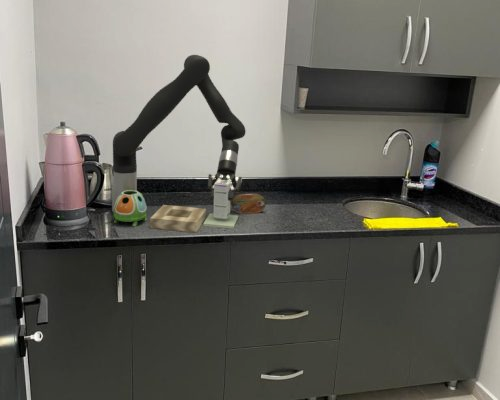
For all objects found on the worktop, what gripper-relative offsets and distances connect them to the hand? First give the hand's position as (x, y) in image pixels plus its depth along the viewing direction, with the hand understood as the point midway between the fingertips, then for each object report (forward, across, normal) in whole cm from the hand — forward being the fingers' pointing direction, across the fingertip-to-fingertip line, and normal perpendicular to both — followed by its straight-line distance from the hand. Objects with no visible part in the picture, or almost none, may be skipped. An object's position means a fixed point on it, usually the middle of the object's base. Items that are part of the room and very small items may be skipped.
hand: (221, 198), depth 200 cm
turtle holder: (+12, -35, +3) cm, 37 cm away
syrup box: (+4, 0, +7) cm, 8 cm away
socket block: (+10, -16, +4) cm, 19 cm away
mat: (+6, 0, +8) cm, 10 cm away
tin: (-5, +9, +20) cm, 22 cm away
